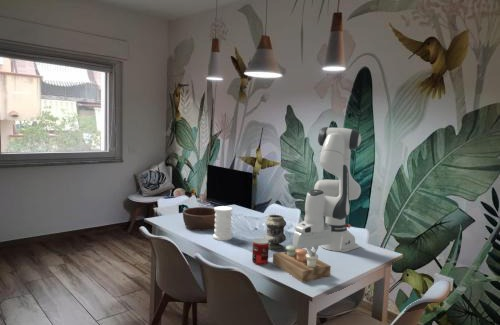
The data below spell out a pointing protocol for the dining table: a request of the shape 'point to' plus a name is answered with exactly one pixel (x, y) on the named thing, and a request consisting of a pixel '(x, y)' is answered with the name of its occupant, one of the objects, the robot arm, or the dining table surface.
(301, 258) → the peach mushroom knob
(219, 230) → the decorative container
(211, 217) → the wooden bowl
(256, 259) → the canned food
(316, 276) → the walnut board
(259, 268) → the dining table surface
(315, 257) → the cream plunger
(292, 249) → the sage plunger
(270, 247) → the apothecary jar
